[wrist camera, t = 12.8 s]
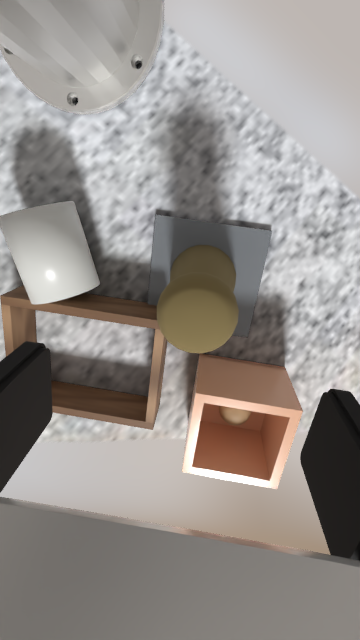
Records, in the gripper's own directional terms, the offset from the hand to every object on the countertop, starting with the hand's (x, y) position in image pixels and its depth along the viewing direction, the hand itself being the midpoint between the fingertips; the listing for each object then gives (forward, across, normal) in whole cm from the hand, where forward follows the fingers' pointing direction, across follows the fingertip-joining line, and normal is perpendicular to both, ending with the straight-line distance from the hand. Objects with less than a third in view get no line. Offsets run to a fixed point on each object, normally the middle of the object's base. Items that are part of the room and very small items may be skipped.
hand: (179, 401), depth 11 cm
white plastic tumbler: (+20, +12, 0) cm, 23 cm away
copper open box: (+19, -6, +13) cm, 24 cm away
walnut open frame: (+20, +9, +10) cm, 24 cm away
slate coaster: (+20, -1, +1) cm, 20 cm away
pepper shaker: (+19, 0, +1) cm, 19 cm away
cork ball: (+17, -6, +13) cm, 22 cm away
